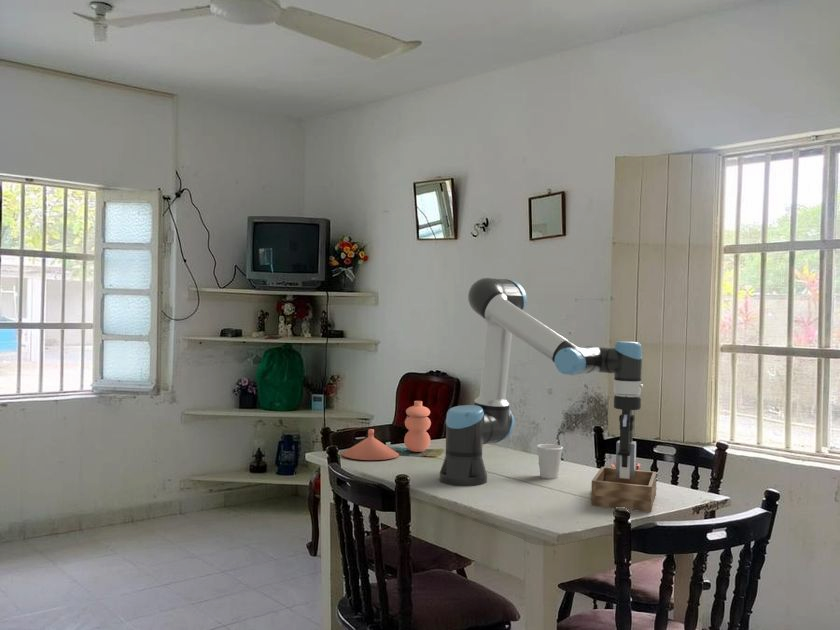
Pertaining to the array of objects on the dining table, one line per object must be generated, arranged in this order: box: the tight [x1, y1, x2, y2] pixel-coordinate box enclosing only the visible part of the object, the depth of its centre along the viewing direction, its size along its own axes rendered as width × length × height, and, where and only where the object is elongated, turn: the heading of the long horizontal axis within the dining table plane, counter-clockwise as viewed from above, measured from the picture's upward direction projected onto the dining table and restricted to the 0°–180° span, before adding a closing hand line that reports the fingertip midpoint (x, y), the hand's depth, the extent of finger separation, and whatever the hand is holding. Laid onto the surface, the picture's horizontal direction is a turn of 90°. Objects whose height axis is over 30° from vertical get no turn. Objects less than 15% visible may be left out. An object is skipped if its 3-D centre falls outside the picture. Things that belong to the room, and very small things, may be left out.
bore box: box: [590, 466, 658, 513], centre depth 214 cm, size 16×21×7 cm
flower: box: [610, 461, 642, 471], centre depth 235 cm, size 10×9×8 cm
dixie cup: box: [536, 443, 564, 480], centre depth 243 cm, size 8×8×10 cm
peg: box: [615, 439, 637, 480], centre depth 214 cm, size 5×5×10 cm
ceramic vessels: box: [341, 400, 432, 461], centre depth 277 cm, size 35×21×19 cm, turn 119°
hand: (625, 475), depth 214 cm, fingers closed on peg, 5 cm apart
